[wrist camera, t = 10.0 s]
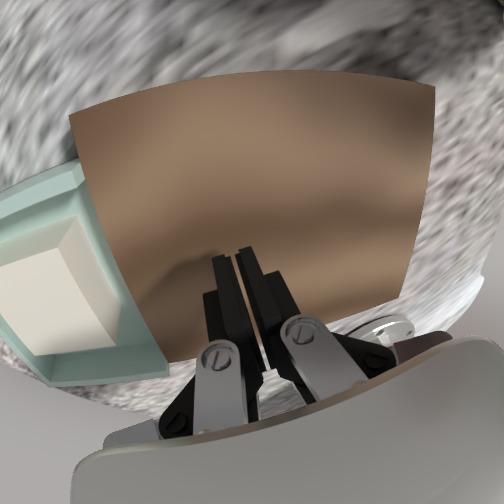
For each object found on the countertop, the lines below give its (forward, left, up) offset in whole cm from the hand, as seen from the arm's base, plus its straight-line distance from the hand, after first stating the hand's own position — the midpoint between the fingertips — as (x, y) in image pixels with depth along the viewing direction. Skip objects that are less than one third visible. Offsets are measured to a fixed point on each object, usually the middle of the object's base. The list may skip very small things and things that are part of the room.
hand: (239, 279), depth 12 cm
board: (0, -3, -3) cm, 5 cm away
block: (0, +10, -3) cm, 10 cm away
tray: (-1, +10, -3) cm, 11 cm away
